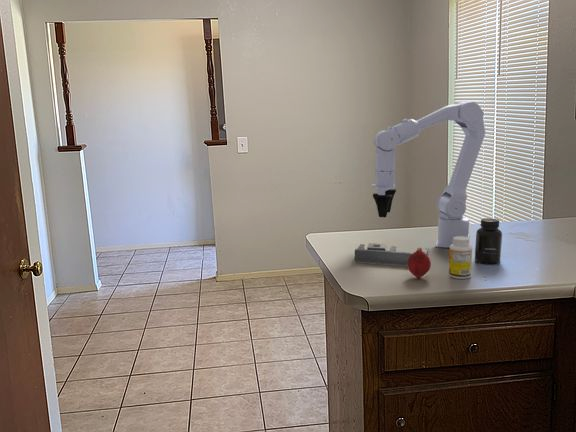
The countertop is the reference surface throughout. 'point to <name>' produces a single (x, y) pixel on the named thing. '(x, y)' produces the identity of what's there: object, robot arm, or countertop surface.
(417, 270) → the onion
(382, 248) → the block
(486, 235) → the supplement bottle
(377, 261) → the bracket
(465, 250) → the supplement bottle
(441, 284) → the countertop surface
